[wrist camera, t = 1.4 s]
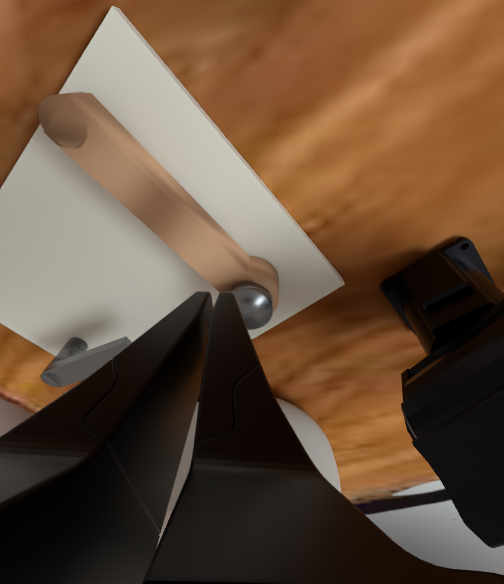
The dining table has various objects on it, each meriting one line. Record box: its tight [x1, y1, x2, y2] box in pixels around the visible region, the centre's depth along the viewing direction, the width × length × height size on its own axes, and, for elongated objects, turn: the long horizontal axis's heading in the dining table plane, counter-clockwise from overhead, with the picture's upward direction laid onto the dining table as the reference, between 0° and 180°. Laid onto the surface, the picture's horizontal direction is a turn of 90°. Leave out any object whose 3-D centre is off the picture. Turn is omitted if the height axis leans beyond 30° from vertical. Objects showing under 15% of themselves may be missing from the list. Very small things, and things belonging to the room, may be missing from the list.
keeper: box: [41, 282, 273, 387], centre depth 24 cm, size 3×21×4 cm, turn 115°
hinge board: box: [0, 6, 345, 356], centre depth 25 cm, size 21×26×1 cm
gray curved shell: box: [167, 398, 341, 510], centre depth 32 cm, size 20×19×12 cm
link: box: [39, 92, 279, 313], centre depth 19 cm, size 17×4×2 cm, turn 41°
